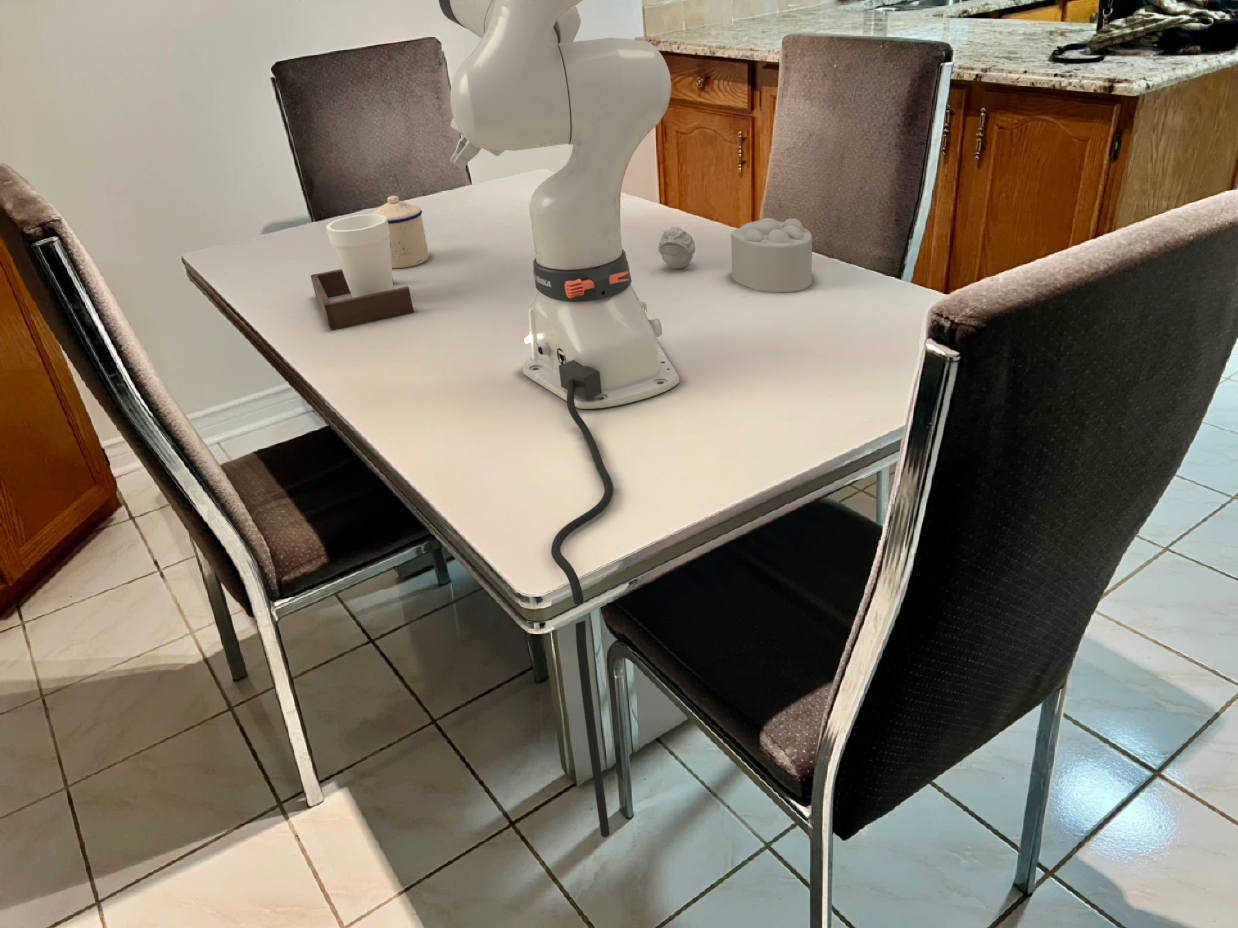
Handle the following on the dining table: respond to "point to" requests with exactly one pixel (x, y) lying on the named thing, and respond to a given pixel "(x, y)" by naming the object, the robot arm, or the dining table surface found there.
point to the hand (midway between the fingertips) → (455, 165)
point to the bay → (357, 301)
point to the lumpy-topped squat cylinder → (772, 255)
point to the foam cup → (363, 252)
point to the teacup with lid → (405, 233)
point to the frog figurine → (676, 247)
